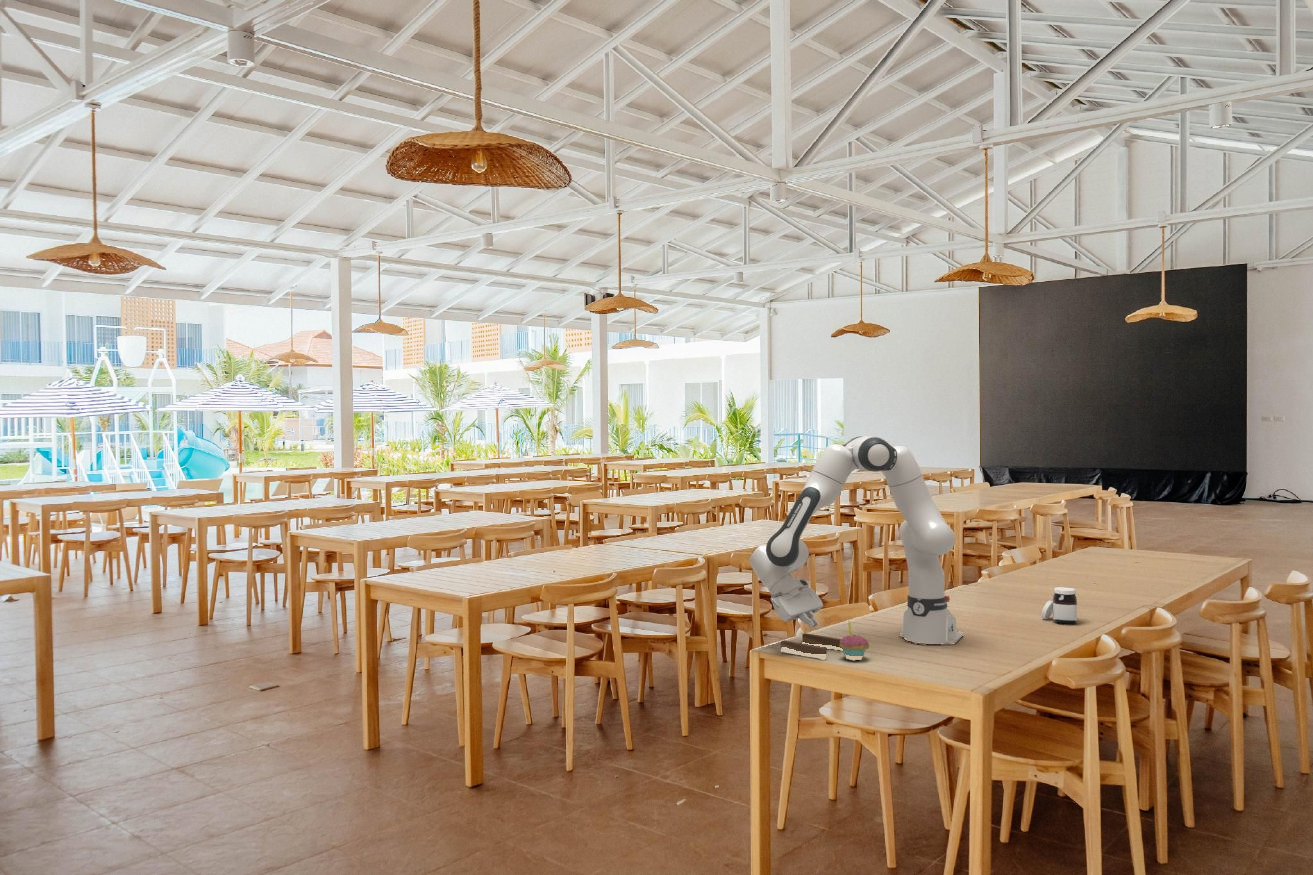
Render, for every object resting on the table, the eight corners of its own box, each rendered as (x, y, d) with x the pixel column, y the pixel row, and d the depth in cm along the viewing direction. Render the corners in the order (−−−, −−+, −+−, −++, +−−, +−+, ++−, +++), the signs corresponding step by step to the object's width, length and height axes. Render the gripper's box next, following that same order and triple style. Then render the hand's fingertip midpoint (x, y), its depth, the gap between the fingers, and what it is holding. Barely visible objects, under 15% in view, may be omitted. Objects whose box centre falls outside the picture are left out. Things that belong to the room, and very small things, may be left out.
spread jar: (1078, 626, 328) (1078, 592, 328) (1042, 624, 332) (1042, 590, 331) (1075, 619, 339) (1075, 586, 339) (1040, 617, 343) (1040, 584, 343)
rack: (804, 644, 306) (804, 633, 306) (847, 651, 296) (847, 639, 296) (780, 652, 295) (780, 641, 295) (824, 660, 285) (824, 648, 285)
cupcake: (854, 664, 281) (854, 622, 280) (833, 658, 288) (832, 618, 287) (874, 659, 286) (874, 619, 285) (853, 654, 292) (853, 614, 292)
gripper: (774, 589, 292) (802, 625, 286) (809, 579, 308) (837, 614, 302) (762, 602, 295) (790, 638, 289) (797, 592, 311) (824, 626, 305)
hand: (814, 626), depth 295 cm, fingers closed
